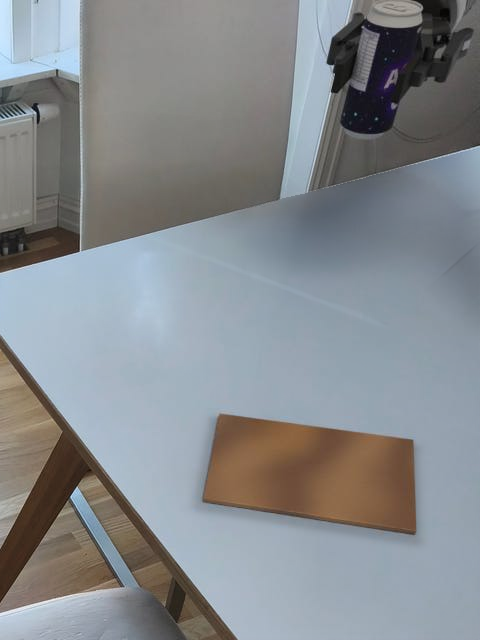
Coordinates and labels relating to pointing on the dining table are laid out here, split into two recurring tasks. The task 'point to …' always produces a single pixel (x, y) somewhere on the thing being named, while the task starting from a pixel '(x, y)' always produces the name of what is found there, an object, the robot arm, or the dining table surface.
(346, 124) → the beverage can
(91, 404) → the dining table surface
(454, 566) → the dining table surface
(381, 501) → the copper plate
